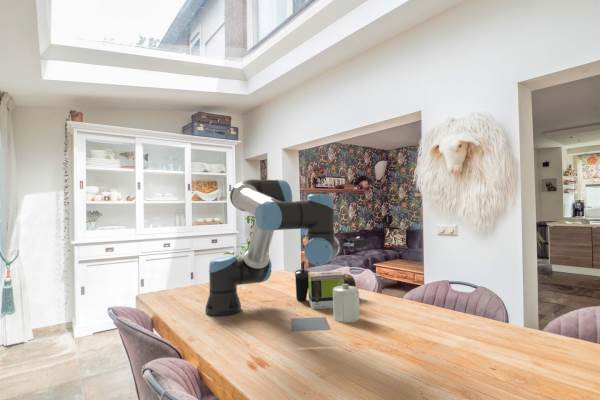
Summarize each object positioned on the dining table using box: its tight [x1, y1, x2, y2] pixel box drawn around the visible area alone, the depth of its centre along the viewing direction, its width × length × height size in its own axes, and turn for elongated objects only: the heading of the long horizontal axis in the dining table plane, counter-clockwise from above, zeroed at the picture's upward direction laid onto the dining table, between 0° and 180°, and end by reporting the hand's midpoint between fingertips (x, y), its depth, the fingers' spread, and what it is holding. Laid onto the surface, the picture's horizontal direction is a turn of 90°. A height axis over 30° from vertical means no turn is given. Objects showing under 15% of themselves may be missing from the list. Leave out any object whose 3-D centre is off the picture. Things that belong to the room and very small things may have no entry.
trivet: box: [290, 316, 332, 332], centre depth 125 cm, size 14×14×1 cm
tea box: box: [308, 270, 344, 310], centre depth 149 cm, size 15×10×15 cm, turn 96°
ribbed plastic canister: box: [332, 284, 361, 323], centre depth 131 cm, size 10×10×14 cm
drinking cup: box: [294, 260, 310, 302], centre depth 157 cm, size 8×8×20 cm
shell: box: [342, 273, 357, 287], centre depth 161 cm, size 11×11×12 cm
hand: (340, 240), depth 123 cm, fingers open, 13 cm apart
